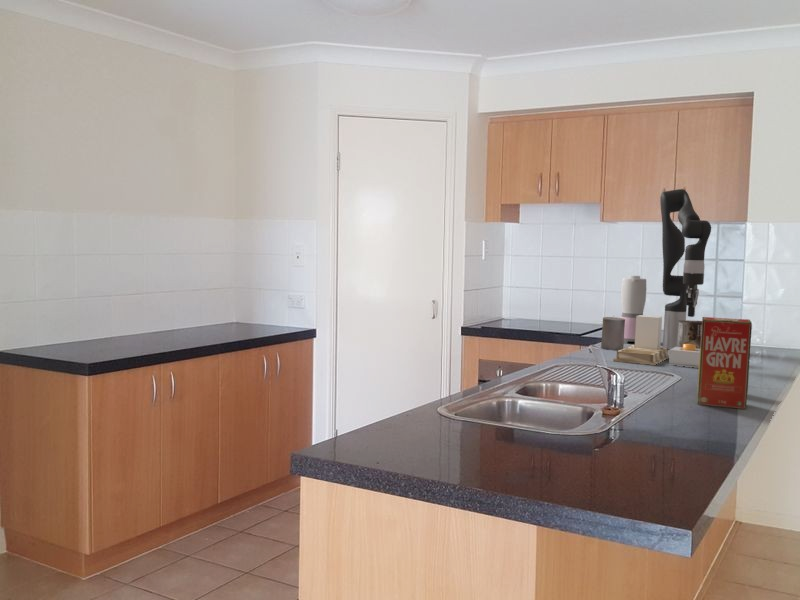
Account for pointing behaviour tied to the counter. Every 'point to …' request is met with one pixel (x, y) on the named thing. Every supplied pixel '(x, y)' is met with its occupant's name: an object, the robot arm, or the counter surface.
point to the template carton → (648, 332)
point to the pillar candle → (613, 333)
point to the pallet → (641, 355)
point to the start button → (689, 347)
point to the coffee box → (689, 333)
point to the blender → (632, 304)
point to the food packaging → (724, 362)
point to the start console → (684, 357)
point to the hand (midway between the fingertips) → (691, 316)
